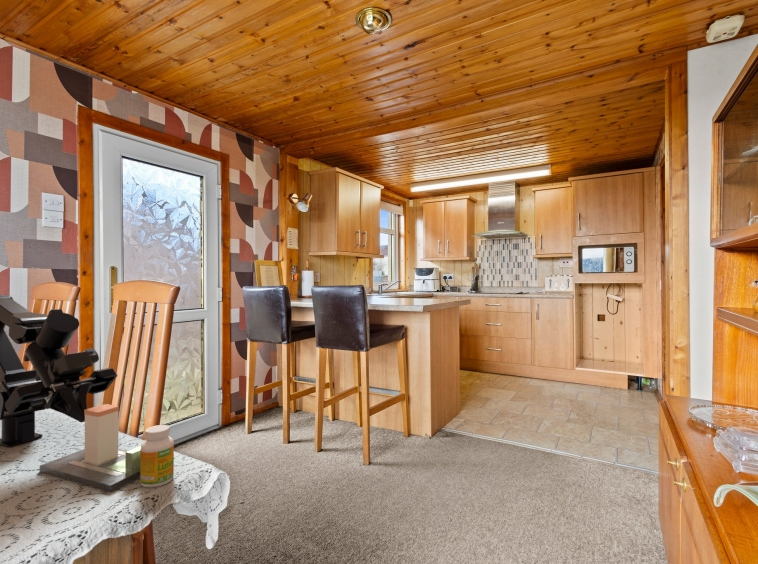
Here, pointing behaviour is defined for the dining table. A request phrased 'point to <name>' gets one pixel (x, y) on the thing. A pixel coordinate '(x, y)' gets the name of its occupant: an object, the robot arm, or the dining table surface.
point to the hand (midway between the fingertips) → (84, 420)
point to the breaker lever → (101, 433)
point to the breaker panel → (97, 469)
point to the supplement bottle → (157, 457)
